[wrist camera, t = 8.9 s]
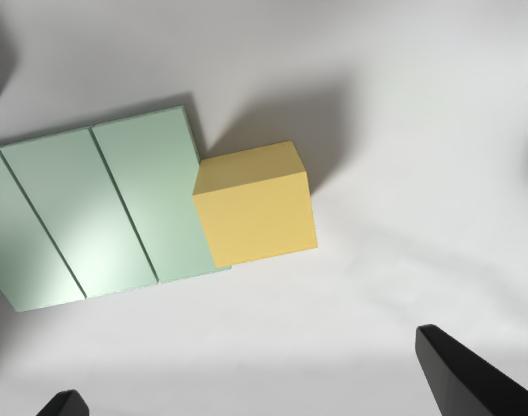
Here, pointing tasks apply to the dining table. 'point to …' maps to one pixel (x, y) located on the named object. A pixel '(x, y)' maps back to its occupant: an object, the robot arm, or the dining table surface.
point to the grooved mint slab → (140, 209)
